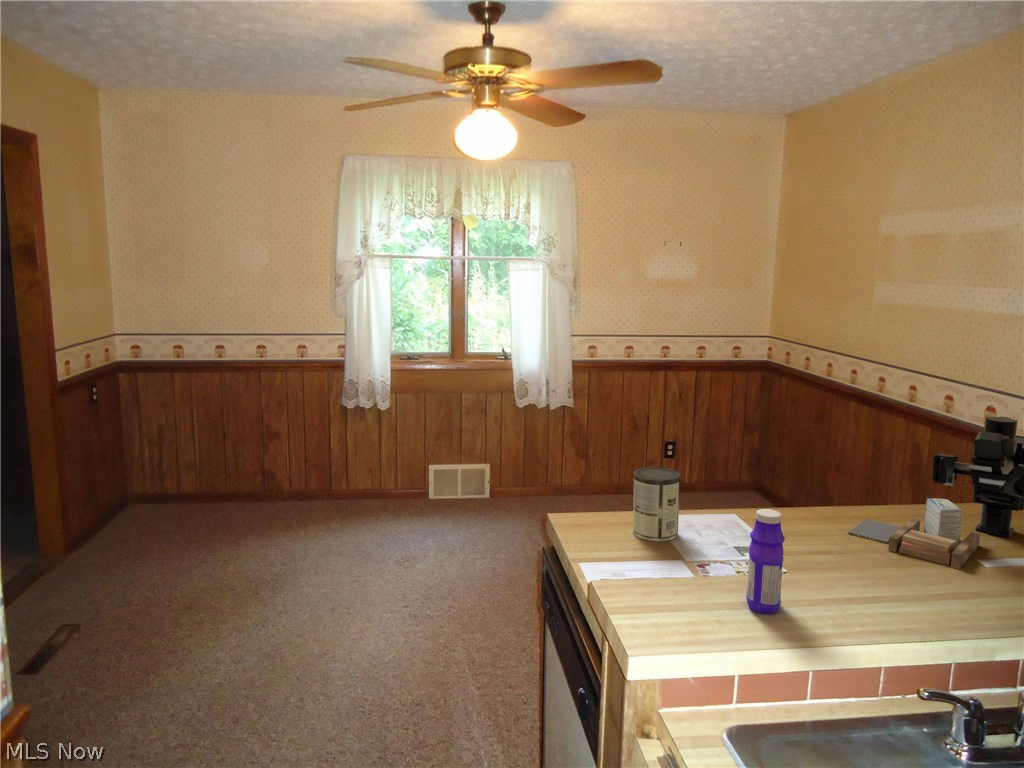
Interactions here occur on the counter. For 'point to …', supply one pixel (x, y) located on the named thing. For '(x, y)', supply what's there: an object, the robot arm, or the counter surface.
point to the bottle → (765, 563)
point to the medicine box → (943, 519)
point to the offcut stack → (927, 547)
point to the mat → (874, 530)
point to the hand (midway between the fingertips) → (975, 484)
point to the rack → (957, 555)
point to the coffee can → (656, 504)
